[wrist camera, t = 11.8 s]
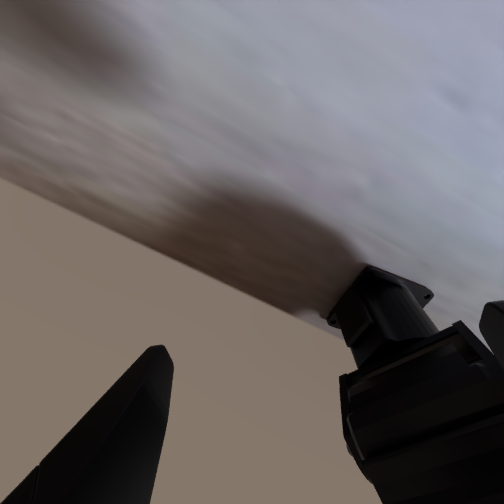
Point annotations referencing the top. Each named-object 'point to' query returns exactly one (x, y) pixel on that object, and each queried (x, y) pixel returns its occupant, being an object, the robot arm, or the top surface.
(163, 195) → the top surface
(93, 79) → the top surface
